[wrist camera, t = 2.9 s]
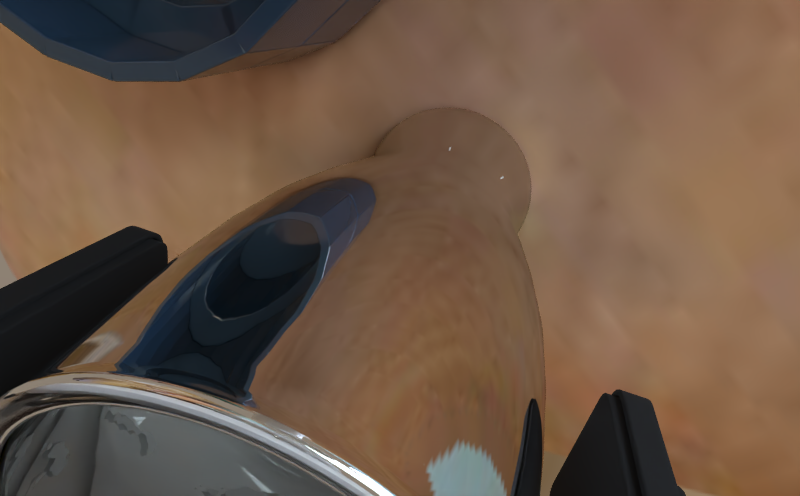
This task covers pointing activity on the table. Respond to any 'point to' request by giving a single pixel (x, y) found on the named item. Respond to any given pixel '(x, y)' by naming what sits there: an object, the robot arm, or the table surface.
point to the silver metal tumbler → (316, 344)
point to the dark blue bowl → (178, 33)
